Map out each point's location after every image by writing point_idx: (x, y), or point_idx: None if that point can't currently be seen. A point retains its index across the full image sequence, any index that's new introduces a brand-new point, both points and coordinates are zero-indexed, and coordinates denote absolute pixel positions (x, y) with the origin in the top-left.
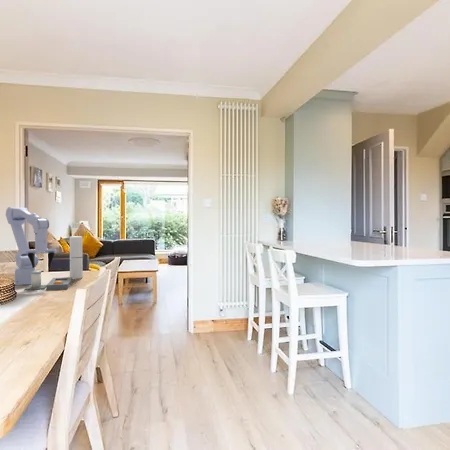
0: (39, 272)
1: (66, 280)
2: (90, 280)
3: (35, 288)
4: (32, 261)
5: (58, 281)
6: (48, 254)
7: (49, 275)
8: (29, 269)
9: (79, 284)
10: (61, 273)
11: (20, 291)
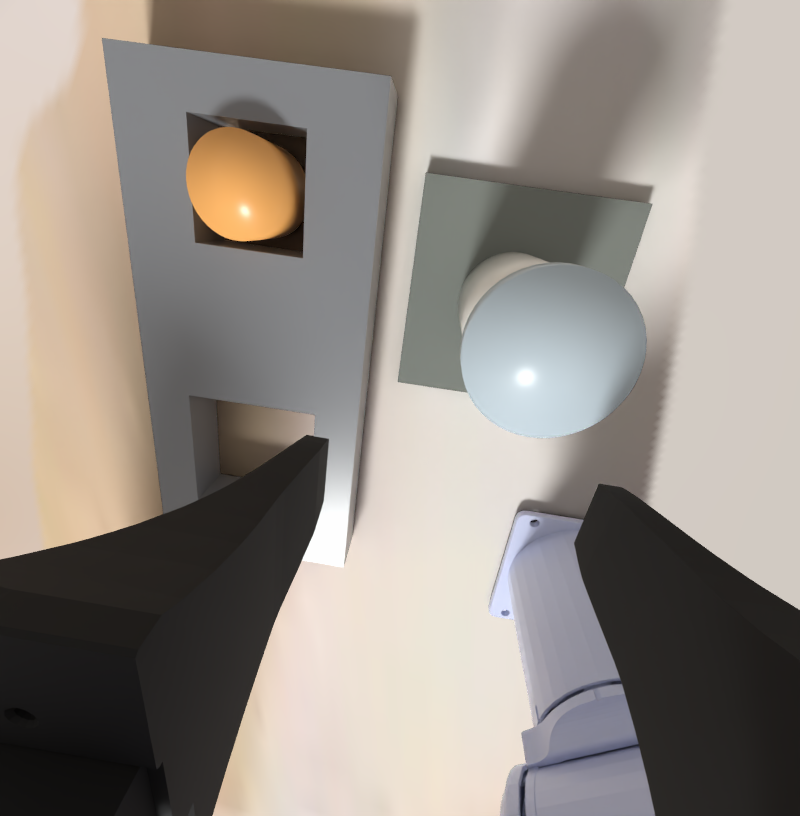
0: (495, 289)
1: (184, 365)
2: (42, 496)
3: (523, 194)
4: (704, 569)
5: (230, 171)
6: (134, 619)
7: (395, 784)
8: (605, 663)
9: (88, 333)
10: (321, 809)
11: (698, 145)
